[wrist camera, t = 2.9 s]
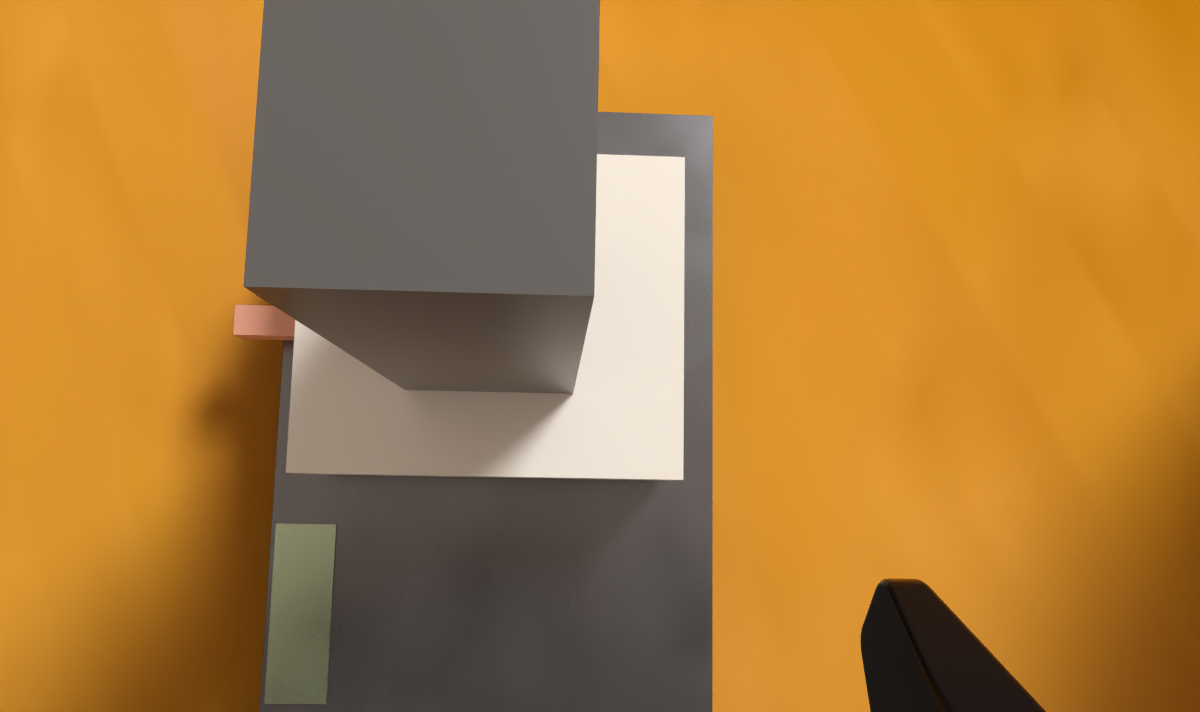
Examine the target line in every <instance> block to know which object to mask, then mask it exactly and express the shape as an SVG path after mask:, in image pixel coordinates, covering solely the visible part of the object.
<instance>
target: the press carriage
mask: <svg viewBox="0 0 1200 712" xmlns="http://www.w3.org/2000/svg"><path fill="white" fill-rule="evenodd" d="M599 17H600V0H264V11H263V25H262V39H261V53H260V67H259V80H258V94H257V108H256V122H255V136H254V150H253V164H252V177H251V191H250V205H249V219H248V233H247V247H246V261H245V275H244V287H245V288H247V289H248V290H250V291H251V292H253V293H254V294H256V295H258V296H259V297H261V298H262V299H264V300H265V301H267V302H269V303H270V304H272V305H273V306H266V305H235V315H234V329H233V335H235V336H237V337H239V338H241V339H252V340H293V341H294V349H293V365H292V381H291V396H290V412H289V428H288V443H287V459H286V473H302V474H327V475H384V476H440V477H496V478H552V479H608V480H664V481H667V480H683V452H684V243H685V157H667V156H638V155H609V154H597V125H598V71H599Z"/></svg>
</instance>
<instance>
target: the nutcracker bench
mask: <svg viewBox="0 0 1200 712" xmlns="http://www.w3.org/2000/svg"><path fill="white" fill-rule="evenodd" d="M597 154H609V155H638V156H667V157H685V243H684V452H683V480H667V481H664V480H608V479H552V478H496V477H440V476H384V475H327V474H302V473H286V459H287V443H288V428H289V412H290V396H291V381H292V365H293V349H294V341H293V340H284V345H283V360H282V376H281V391H280V406H279V422H278V437H277V452H276V467H275V483H274V498H273V513H272V529H271V544H270V559H269V574H268V590H267V605H266V620H265V636H264V651H263V666H262V681H261V697H260V712H712V198H713V116H697V115H670V114H642V113H615V112H598V125H597Z"/></svg>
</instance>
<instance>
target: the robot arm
mask: <svg viewBox="0 0 1200 712" xmlns="http://www.w3.org/2000/svg"><path fill="white" fill-rule="evenodd" d="M861 652H862V659H863V666H864V672H865V678H866V685H867V691H868V698H869V704H870V710H871V712H1046V711H1045V710H1044V709H1043V708H1042V707H1041V706H1040V705H1039V704H1038V703H1037V702H1036V700H1035V699H1034V698H1033V697H1032V696H1031V695H1030V694H1029V693H1028V692H1027V691H1026V690H1025V689H1024V688H1023V687H1022V685H1021V684H1020V683H1019V682H1018V681H1017V680H1016V679H1015V678H1014V677H1013V676H1012V675H1011V674H1010V673H1009V672H1008V670H1007V669H1006V668H1005V667H1004V666H1003V665H1002V664H1001V663H1000V662H999V661H998V660H997V659H996V658H995V657H994V655H993V654H992V653H991V652H990V651H989V650H988V649H987V648H986V647H985V646H984V645H983V644H982V643H981V642H980V640H979V639H978V638H977V637H976V636H975V635H974V634H973V633H972V632H971V631H970V630H969V629H968V628H967V627H966V625H965V624H964V623H963V622H962V621H961V620H960V619H959V618H958V617H957V616H956V615H955V614H954V613H953V612H952V610H951V609H950V608H949V607H948V606H947V605H946V604H945V603H944V602H943V601H942V600H941V599H940V598H939V597H938V595H937V594H936V593H935V592H934V591H933V590H932V589H931V588H930V587H929V586H928V585H927V584H925V583H924V582H922V581H920V580H917V579H884V580H882V581H881V582H880V583H879V584H878V586H877V587H876V590H875V593H874V595H873V598H872V601H871V604H870V607H869V609H868V612H867V615H866V618H865V621H864V624H863V627H862V631H861Z"/></svg>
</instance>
